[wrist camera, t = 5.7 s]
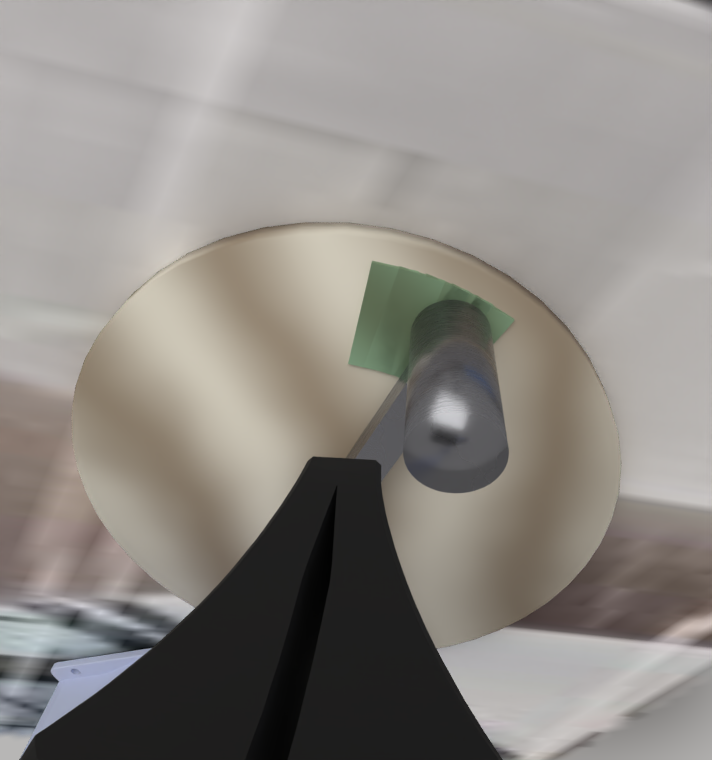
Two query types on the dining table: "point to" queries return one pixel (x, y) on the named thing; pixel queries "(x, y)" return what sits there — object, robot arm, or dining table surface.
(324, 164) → the dining table surface
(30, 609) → the dining table surface
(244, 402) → the dial board
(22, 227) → the dining table surface
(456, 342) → the lever
